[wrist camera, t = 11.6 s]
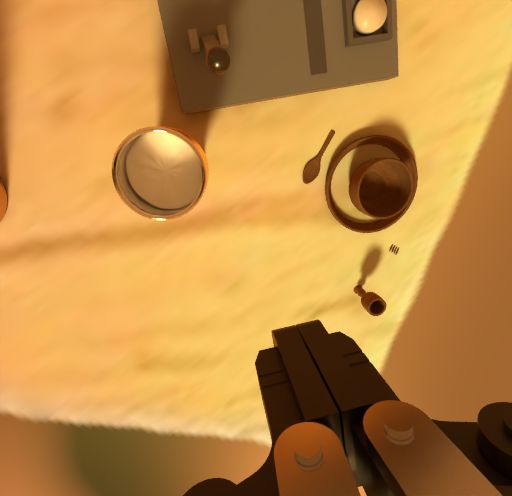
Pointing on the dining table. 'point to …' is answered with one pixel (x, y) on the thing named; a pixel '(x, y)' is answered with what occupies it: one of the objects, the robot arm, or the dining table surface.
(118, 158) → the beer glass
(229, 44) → the switch panel
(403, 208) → the place setting
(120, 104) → the dining table surface
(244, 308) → the dining table surface
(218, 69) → the toggle lever
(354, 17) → the push button
